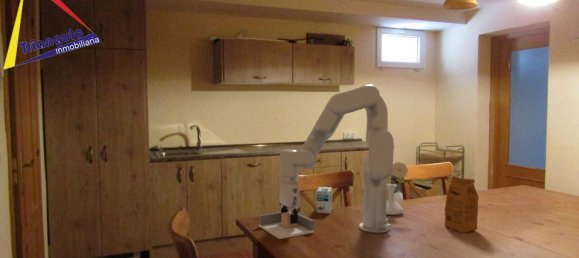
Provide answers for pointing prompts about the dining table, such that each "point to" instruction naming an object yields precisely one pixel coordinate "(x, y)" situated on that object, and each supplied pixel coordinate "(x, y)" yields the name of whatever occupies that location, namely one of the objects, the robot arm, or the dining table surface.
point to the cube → (287, 220)
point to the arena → (275, 228)
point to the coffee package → (461, 205)
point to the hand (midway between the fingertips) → (289, 220)
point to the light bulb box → (324, 199)
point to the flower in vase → (399, 172)
